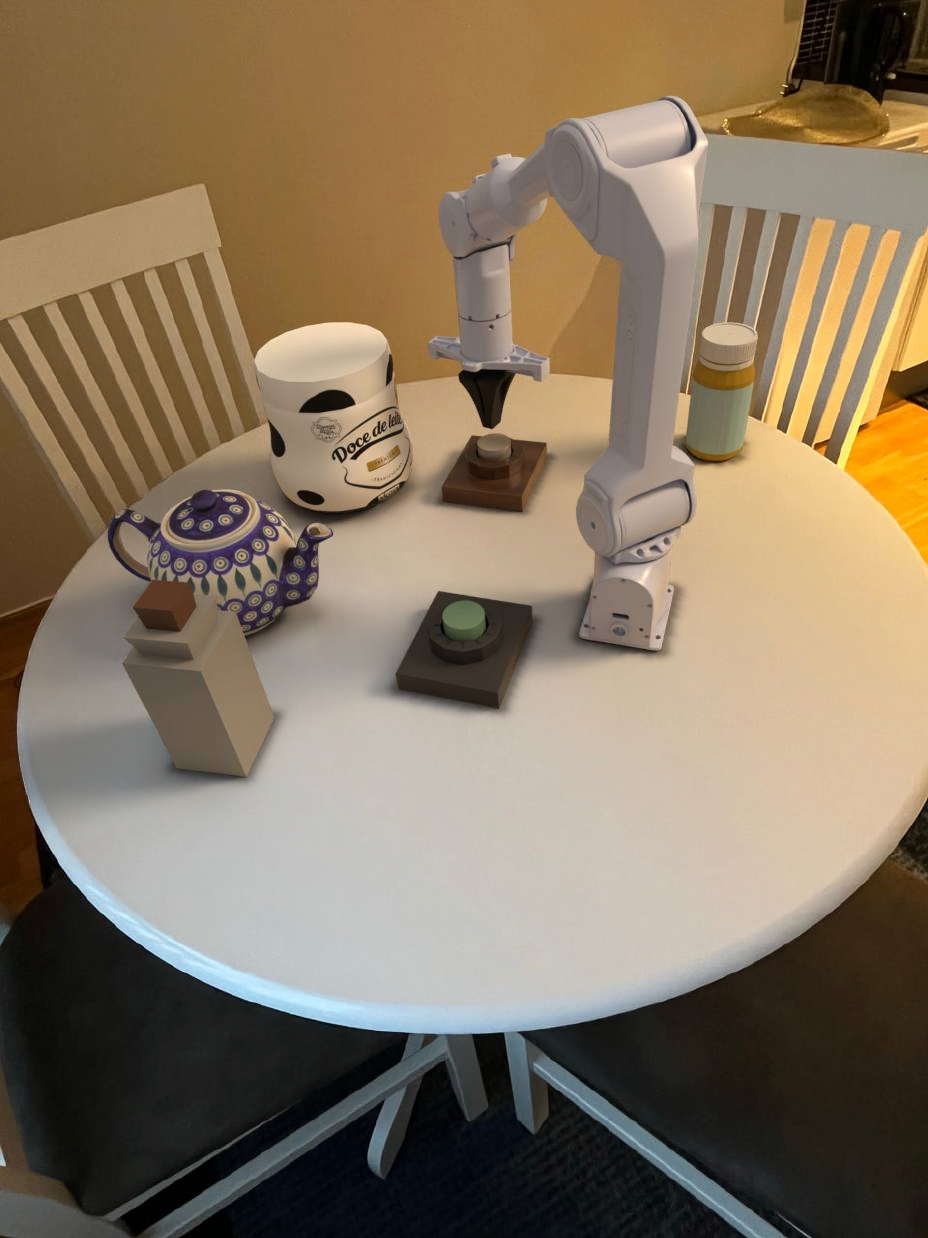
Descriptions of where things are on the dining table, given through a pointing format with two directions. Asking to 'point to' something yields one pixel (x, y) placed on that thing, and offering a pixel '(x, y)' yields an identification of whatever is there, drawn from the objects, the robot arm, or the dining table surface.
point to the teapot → (228, 553)
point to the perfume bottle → (197, 679)
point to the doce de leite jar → (334, 416)
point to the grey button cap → (494, 447)
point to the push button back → (495, 476)
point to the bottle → (721, 391)
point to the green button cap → (464, 621)
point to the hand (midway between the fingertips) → (491, 424)
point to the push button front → (466, 653)
